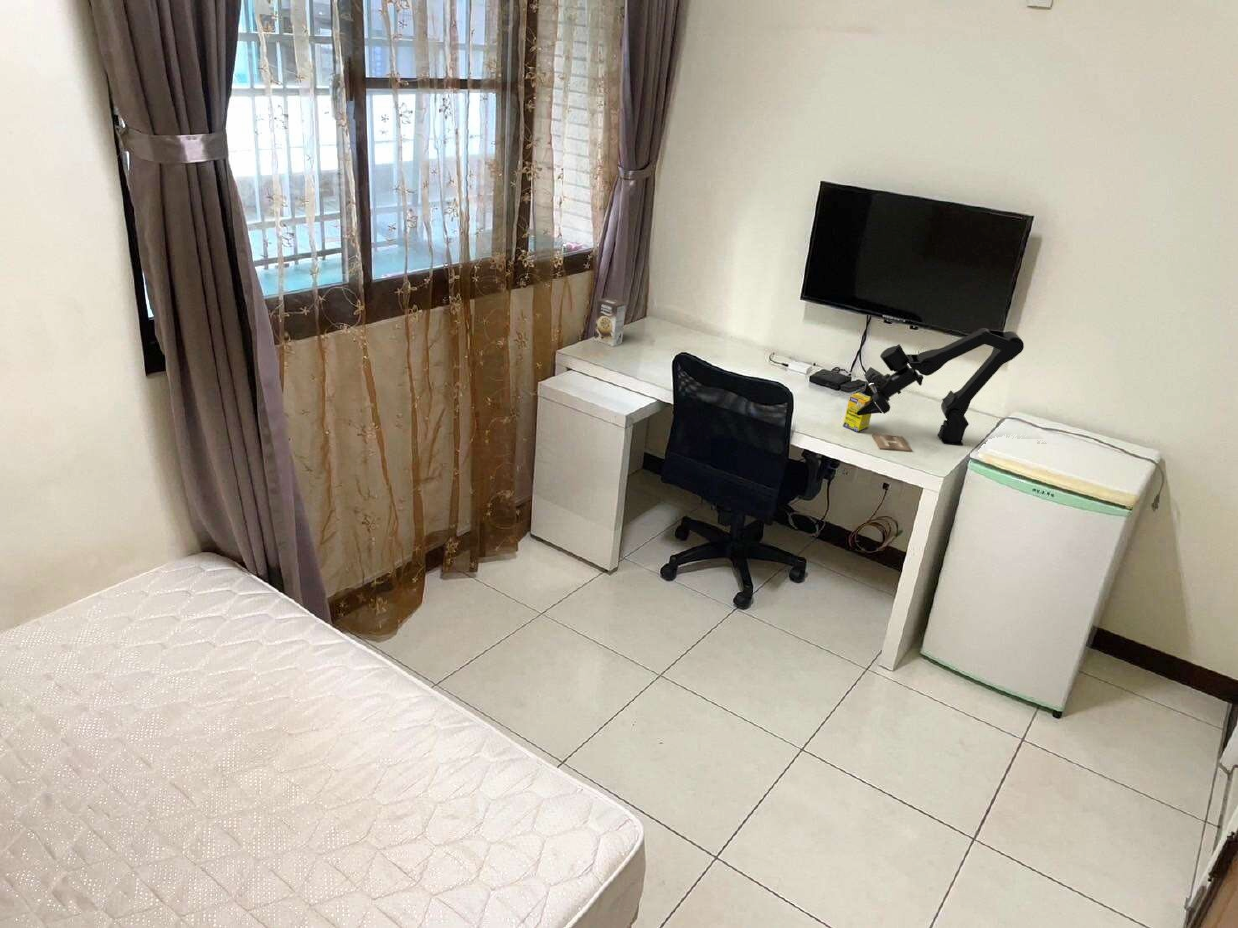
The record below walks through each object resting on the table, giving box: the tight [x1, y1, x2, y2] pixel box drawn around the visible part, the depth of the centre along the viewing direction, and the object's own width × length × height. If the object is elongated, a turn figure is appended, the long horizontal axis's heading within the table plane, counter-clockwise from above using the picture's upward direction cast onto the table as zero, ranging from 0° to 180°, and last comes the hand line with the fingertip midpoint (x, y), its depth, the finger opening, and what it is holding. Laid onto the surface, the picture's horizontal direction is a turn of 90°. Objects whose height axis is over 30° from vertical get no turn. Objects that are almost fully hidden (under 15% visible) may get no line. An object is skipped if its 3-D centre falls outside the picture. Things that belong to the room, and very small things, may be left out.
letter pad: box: [870, 433, 912, 453], centre depth 279 cm, size 10×10×1 cm
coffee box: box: [594, 297, 627, 347], centre depth 335 cm, size 9×6×16 cm
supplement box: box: [842, 391, 872, 434], centre depth 285 cm, size 6×6×11 cm
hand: (855, 408), depth 285 cm, fingers open, 9 cm apart
